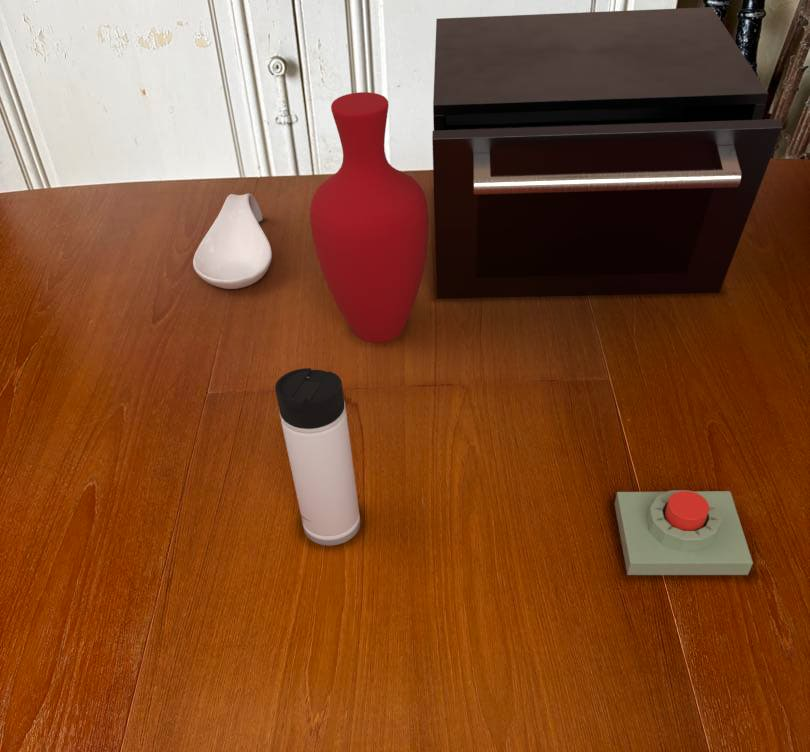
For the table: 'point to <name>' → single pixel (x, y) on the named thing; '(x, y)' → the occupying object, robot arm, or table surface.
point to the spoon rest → (234, 246)
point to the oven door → (594, 207)
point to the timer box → (681, 537)
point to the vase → (369, 225)
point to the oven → (591, 70)
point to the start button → (687, 510)
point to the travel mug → (319, 453)
